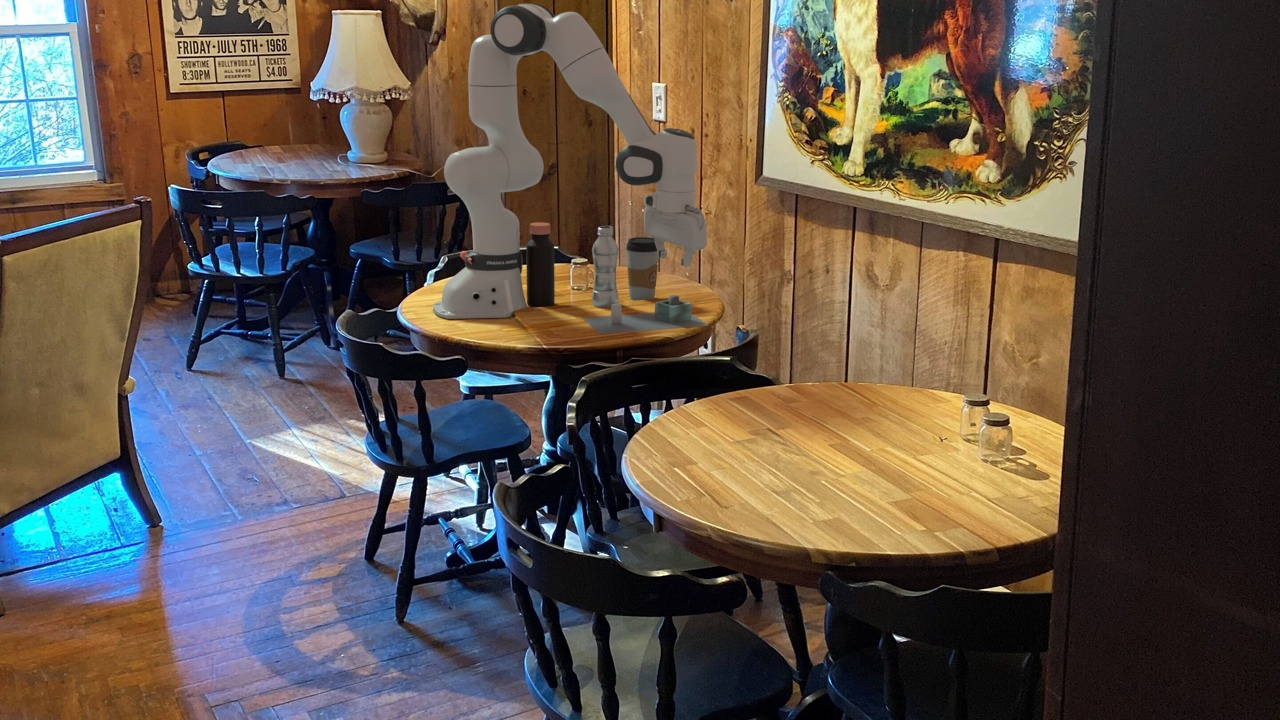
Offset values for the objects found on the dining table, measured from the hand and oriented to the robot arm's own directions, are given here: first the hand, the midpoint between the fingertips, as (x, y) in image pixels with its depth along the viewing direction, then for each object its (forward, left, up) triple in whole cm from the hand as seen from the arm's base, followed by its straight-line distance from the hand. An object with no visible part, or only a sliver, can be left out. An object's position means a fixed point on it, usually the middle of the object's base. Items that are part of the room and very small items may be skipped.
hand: (673, 262), depth 270 cm
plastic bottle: (-11, +18, -15) cm, 26 cm away
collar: (0, 0, -14) cm, 14 cm away
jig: (-7, 0, -15) cm, 16 cm away
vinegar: (-25, +26, -15) cm, 39 cm away
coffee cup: (+1, +25, -15) cm, 29 cm away
